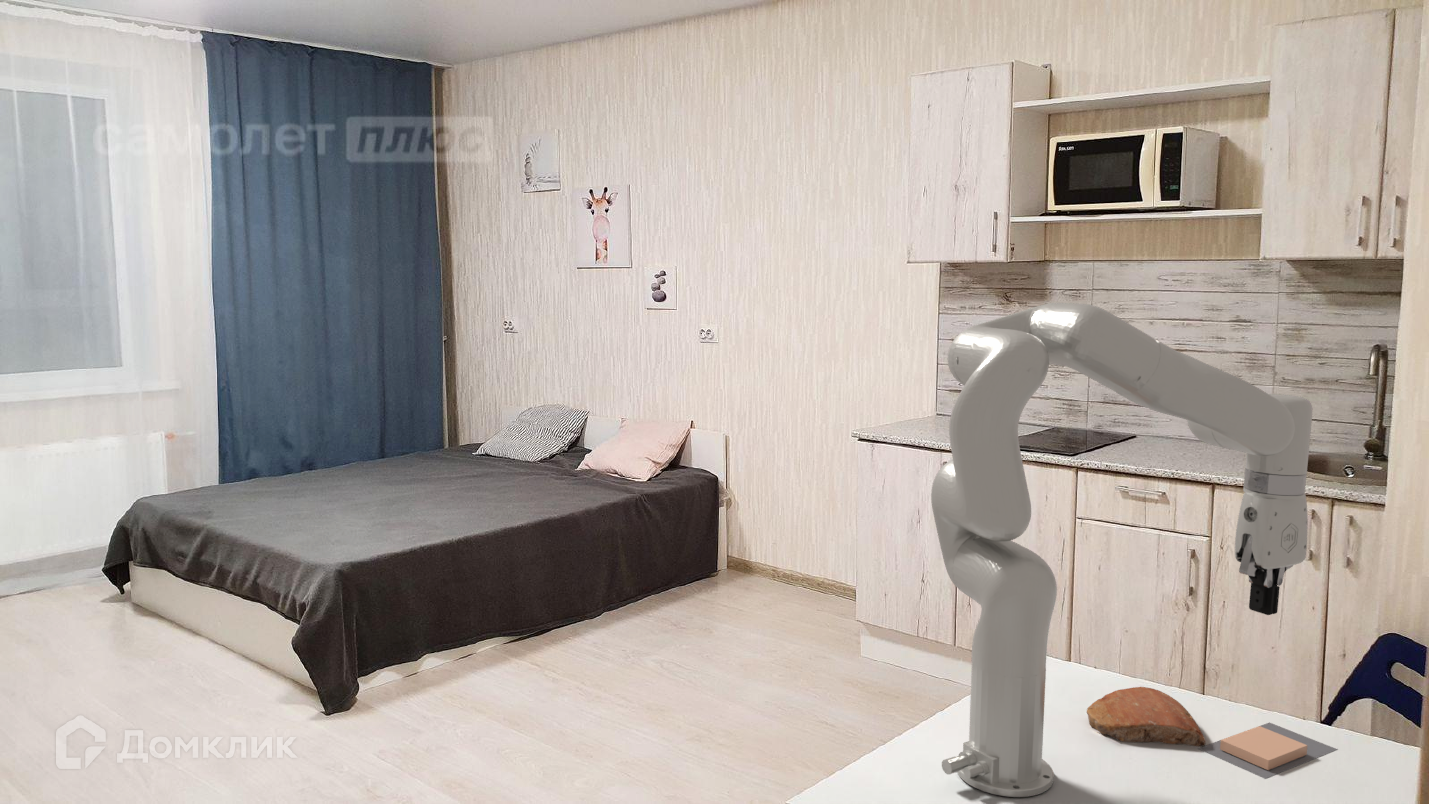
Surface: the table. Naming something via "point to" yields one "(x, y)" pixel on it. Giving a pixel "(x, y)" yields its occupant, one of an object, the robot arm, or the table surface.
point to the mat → (1313, 752)
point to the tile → (1263, 747)
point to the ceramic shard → (1144, 718)
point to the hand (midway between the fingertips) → (1262, 611)
